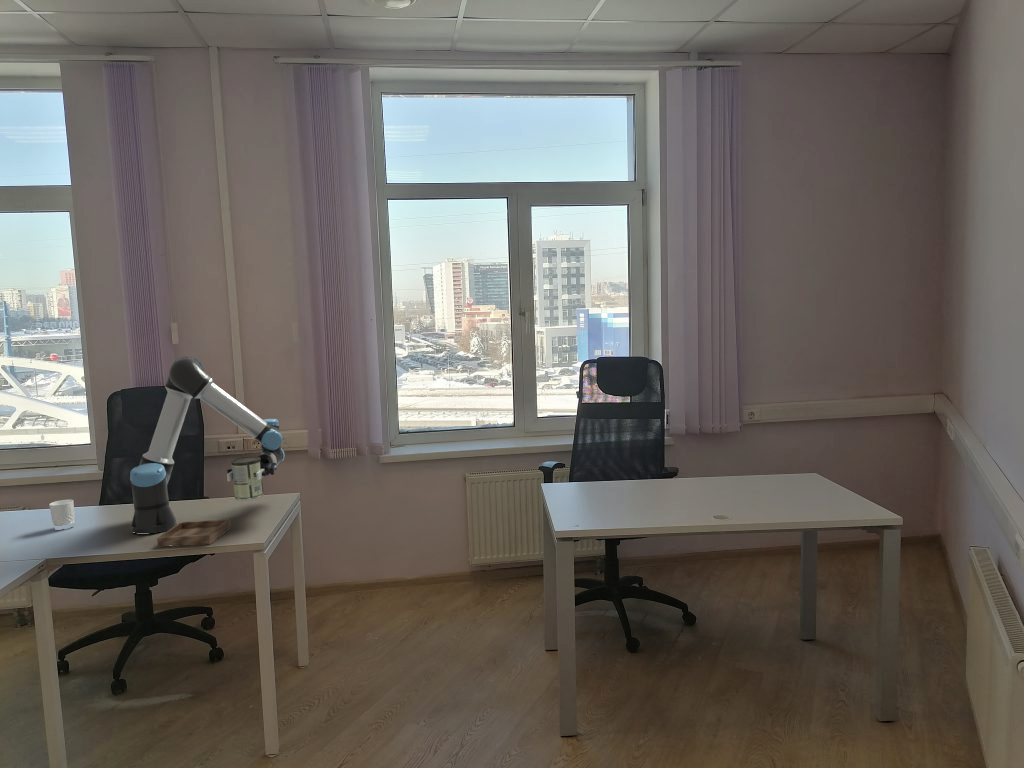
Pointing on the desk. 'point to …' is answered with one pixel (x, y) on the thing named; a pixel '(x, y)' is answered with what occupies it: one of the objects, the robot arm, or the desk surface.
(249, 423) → the robot arm
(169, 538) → the holder tray
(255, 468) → the coffee can
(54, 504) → the white cup
